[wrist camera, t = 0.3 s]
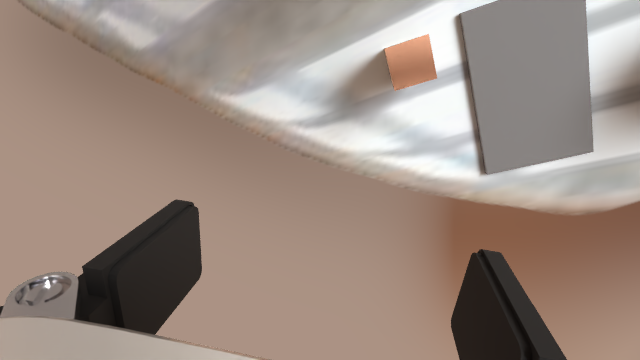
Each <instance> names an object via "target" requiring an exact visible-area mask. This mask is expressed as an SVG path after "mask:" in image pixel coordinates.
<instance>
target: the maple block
mask: <svg viewBox="0 0 640 360" xmlns="http://www.w3.org/2000/svg"><path fill="white" fill-rule="evenodd" d="M384 52H385V56H386V60H387V64H388V68H389V73H390V77H391V81H392V84H393V87H394V90H395V91H396V90H399V89H403V88H406V87H409V86H413V85H416V84H419V83H423V82H426V81H429V80H433V79H436V78H437V75H436V70H435V65H434V60H433V54H432V49H431V44H430V39H429V34H427V35H424V36H421V37H418V38H415V39H412V40H409V41H406V42H403V43H400V44H397V45H394V46H391V47H388V48H385V49H384Z"/></svg>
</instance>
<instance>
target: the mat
mask: <svg viewBox="0 0 640 360" xmlns="http://www.w3.org/2000/svg"><path fill="white" fill-rule="evenodd" d="M460 20H461V26H462V32H463V38H464V45H465V51H466V57H467V63H468V69H469V75H470V81H471V87H472V93H473V100H474V106H475V112H476V118H477V124H478V130H479V136H480V142H481V149H482V155H483V161H484V167H485V173H486V174H487V175H488V174H493V173H497V172H502V171H506V170H511V169H516V168H520V167H525V166H530V165H534V164H539V163H544V162H548V161H553V160H558V159H562V158H567V157H572V156H576V155H581V154H585V153H590V152H593V136H592V116H591V97H590V77H589V57H588V38H587V18H586V0H498V1H495V2H492V3H489V4H486V5H483V6H480V7H477V8H475V9H472V10H469V11H466V12H463V13H460Z"/></svg>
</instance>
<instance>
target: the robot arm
mask: <svg viewBox="0 0 640 360" xmlns="http://www.w3.org/2000/svg"><path fill="white" fill-rule="evenodd" d="M200 247H201V246H200V230H199V212H198V208H197V207H195V206H194V204H193V203H192V202H188V201H182V200H174V201H173V202H171V203H170V204H168V205H167V206H166V207H165V208H163V209H162V210H160V211H159V212H157V213H156V214H154V215H153V216H152V217H150V218H149V219H147V220H146V221H145V222H143V223H142V224H141V225H139V226H138V227H136V228H135V229H134V230H132V231H131V232H129V233H128V234H127V235H125V236H124V237H122V238H121V239H120V240H118V241H117V242H116V243H114V244H113V245H111V246H110V247H109V248H107V249H106V250H104V251H103V252H102V253H100V254H99V255H97V256H96V257H95V258H93V259H92V260H91V261H89V262H88V263H86V264H85V265H84V266H82V268H83V274H82V275H80V276H79V277H77V276H75V275H74V274H72V273H68V272H53V273H47V274H44V275H40V276H37V277H34V278H32V279H29V280H27V281H25V282H24V283H22V284H20V285H19V286H17V287H16V288H15V289H14V290H13V291H11V292H10V294H9V296H8V297H7V299H6V302H5V305H4V306H1V307H0V360H270V359H265V358H260V357H256V356H251V355H247V354H242V353H238V352H232V351H228V350H224V349H219V348H214V347H209V346H205V345H200V344H195V343H191V342H186V341H181V340H177V339H172V338H167V337H162V336H158V335H155V334H156V333H157V331H158V330H159V329H160V327H161V326H162V325H163V324H164V323H165V321H166V320H167V319H168V317H169V316H170V315H171V314H172V312H173V311H174V310H175V309H176V307H177V306H178V305H179V304H180V302H181V301H182V300H183V299H184V297H185V296H186V295H187V294H188V292H189V291H190V290H191V288H192V287H193V286H194V285H195V284H196V282H197V281H198V280H199V278H200V275H201V271H202V264H201V248H200ZM451 328H452V332H453V336H454V340H455V344H456V347H457V351H458V355H459V359H460V360H567V359H566V357H565V356H564V354H563V352H562V351H561V349H560V348H559V346H558V344H557V343H556V341H555V339H554V338H553V336H552V335H551V333H550V331H549V330H548V328H547V327H546V325H545V323H544V322H543V320H542V318H541V317H540V315H539V313H538V312H537V310H536V309H535V307H534V305H533V304H532V303H531V301H530V299H529V298H528V296H527V295H526V293H525V291H524V290H523V288H522V286H521V285H520V283H519V282H518V280H517V278H516V277H515V275H514V273H513V272H512V270H511V269H510V267H509V265H508V264H507V262H506V260H505V259H504V257H503V255H502V254H501V253H500V252H495V251H489V250H483V249H481V250H479V251H478V253H472V255H471V258H470V261H469V264H468V267H467V270H466V273H465V277H464V280H463V283H462V286H461V289H460V292H459V296H458V299H457V302H456V305H455V308H454V311H453V315H452V318H451Z"/></svg>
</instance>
